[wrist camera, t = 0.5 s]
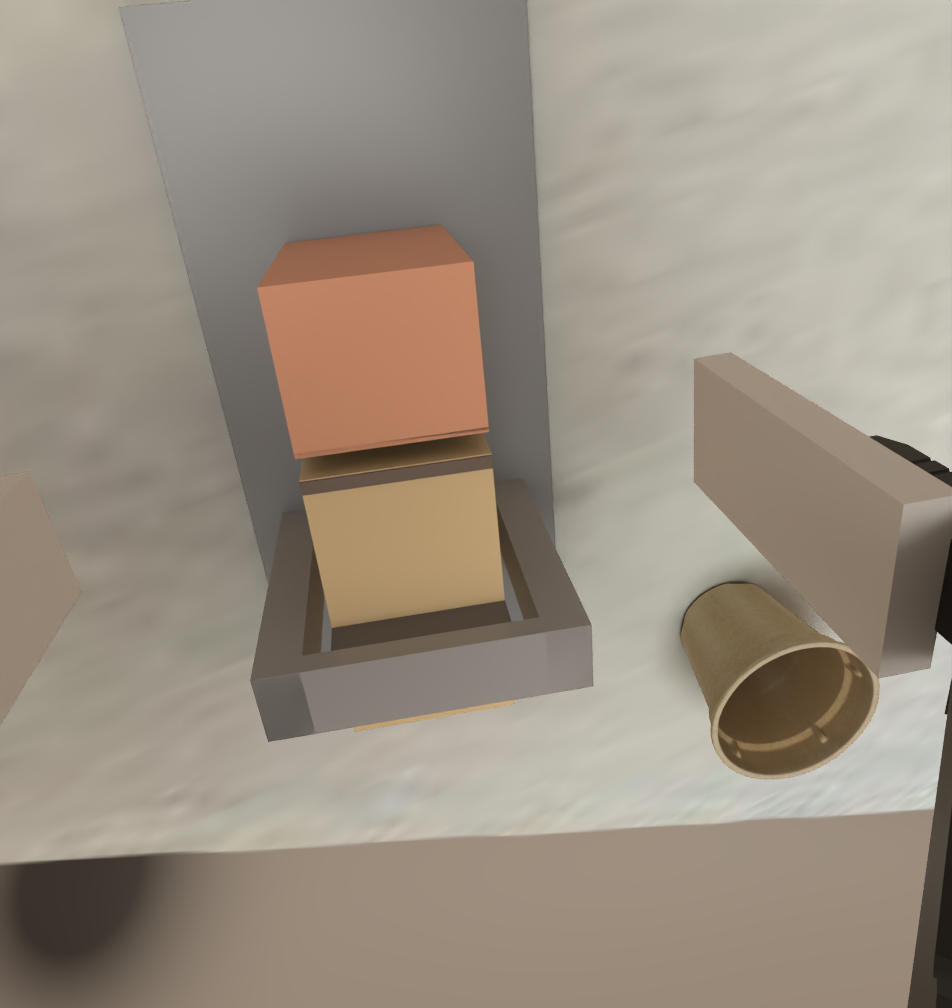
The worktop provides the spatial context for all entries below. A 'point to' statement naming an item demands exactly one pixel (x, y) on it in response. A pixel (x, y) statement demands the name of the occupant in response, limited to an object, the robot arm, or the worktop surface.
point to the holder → (250, 368)
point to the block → (375, 340)
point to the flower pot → (774, 684)
